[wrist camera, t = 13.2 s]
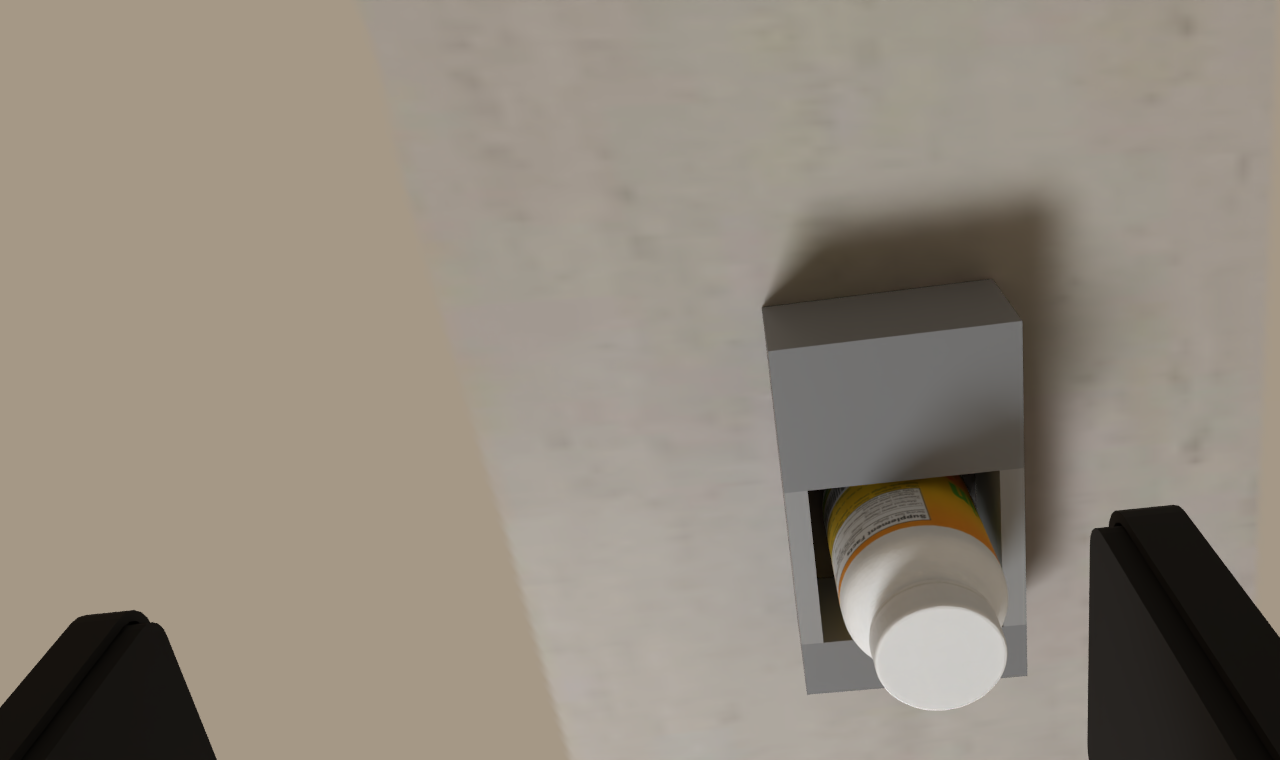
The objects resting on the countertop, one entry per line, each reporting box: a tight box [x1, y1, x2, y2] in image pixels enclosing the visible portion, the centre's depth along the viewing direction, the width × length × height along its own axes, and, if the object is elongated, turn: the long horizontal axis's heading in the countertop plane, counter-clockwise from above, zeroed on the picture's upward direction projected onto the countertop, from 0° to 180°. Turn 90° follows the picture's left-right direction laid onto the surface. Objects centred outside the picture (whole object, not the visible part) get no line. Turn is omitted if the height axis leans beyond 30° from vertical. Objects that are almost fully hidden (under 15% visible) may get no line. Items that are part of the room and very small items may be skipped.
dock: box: [762, 279, 1027, 695], centre depth 40 cm, size 14×8×4 cm, turn 9°
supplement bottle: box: [822, 475, 1008, 711], centre depth 38 cm, size 5×5×10 cm
